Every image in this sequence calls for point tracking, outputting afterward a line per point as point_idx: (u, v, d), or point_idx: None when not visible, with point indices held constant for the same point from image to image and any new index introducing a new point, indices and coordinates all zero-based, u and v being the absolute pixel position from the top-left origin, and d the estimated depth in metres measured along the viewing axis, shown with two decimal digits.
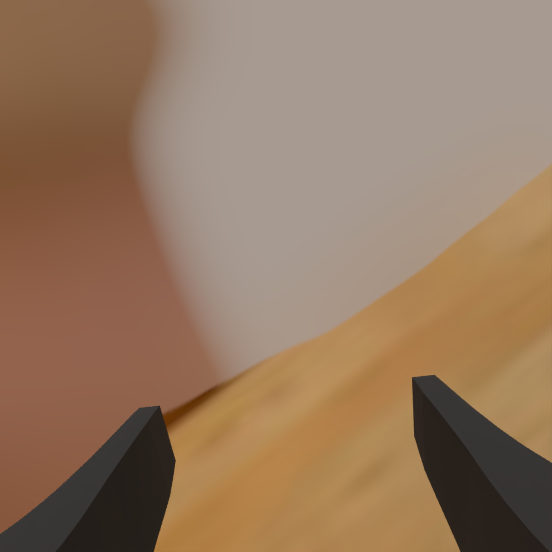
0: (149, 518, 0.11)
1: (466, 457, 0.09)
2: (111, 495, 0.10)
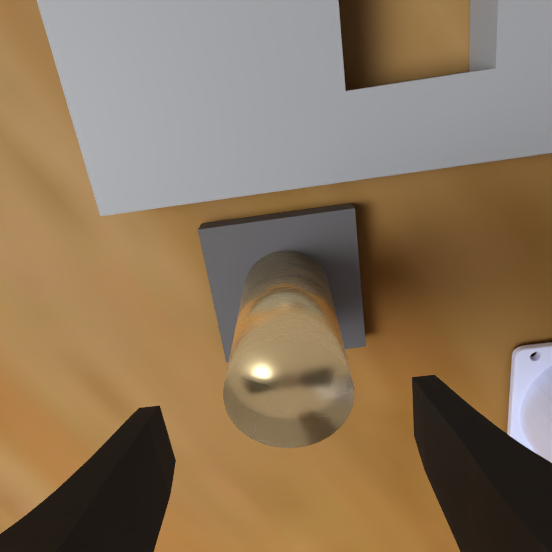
0: (149, 517, 0.11)
1: (466, 457, 0.09)
2: (110, 494, 0.10)
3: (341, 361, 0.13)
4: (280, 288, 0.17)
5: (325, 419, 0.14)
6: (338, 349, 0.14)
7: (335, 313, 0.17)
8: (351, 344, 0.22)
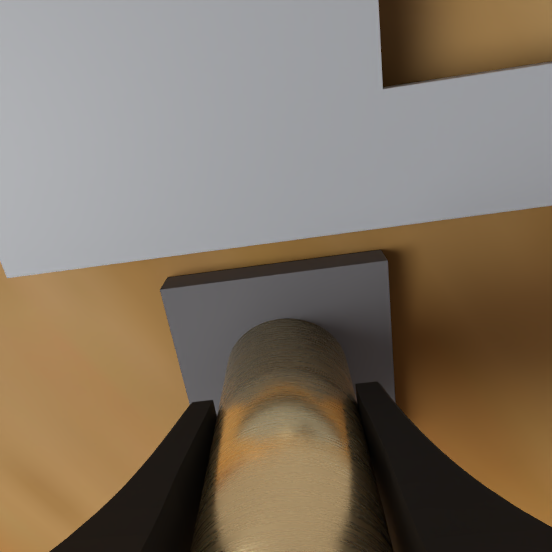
0: None
1: (388, 465, 0.09)
2: (180, 487, 0.10)
3: None
4: (279, 404, 0.10)
5: None
6: None
7: (364, 433, 0.11)
8: None
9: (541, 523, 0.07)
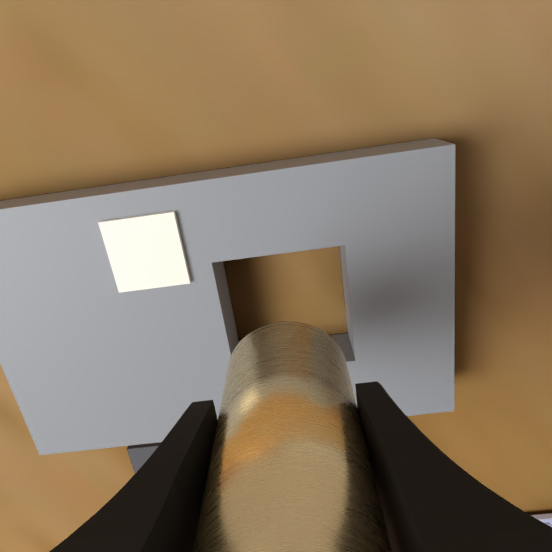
0: None
1: (388, 465, 0.09)
2: (180, 487, 0.09)
3: None
4: (286, 408, 0.10)
5: None
6: None
7: (365, 442, 0.11)
8: None
9: (541, 523, 0.07)
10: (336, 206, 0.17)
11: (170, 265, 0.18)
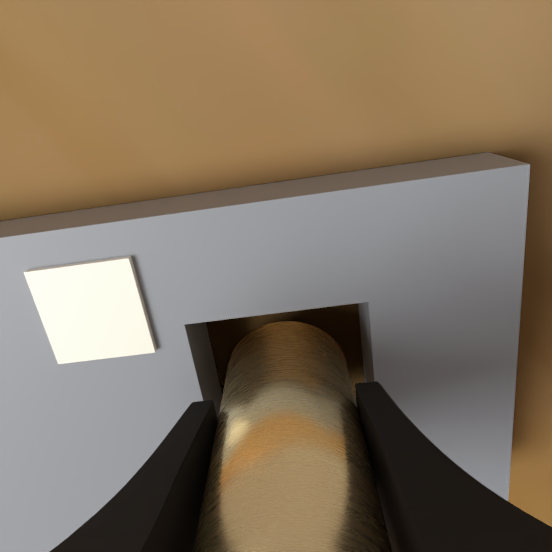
0: None
1: (388, 465, 0.09)
2: (180, 487, 0.09)
3: None
4: (286, 408, 0.10)
5: None
6: None
7: (365, 441, 0.11)
8: None
9: (541, 523, 0.07)
10: (357, 250, 0.12)
11: (126, 329, 0.13)
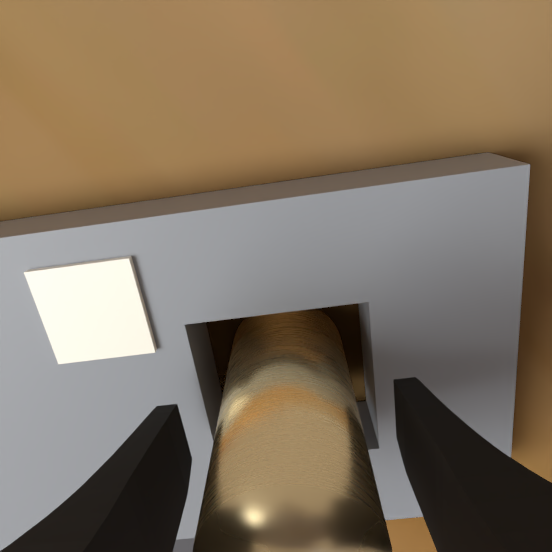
0: (169, 515, 0.11)
1: (440, 459, 0.09)
2: (133, 492, 0.10)
3: (378, 519, 0.09)
4: (285, 370, 0.12)
5: None
6: (371, 491, 0.09)
7: (356, 402, 0.13)
8: None
9: None
10: (357, 250, 0.12)
11: (127, 329, 0.13)
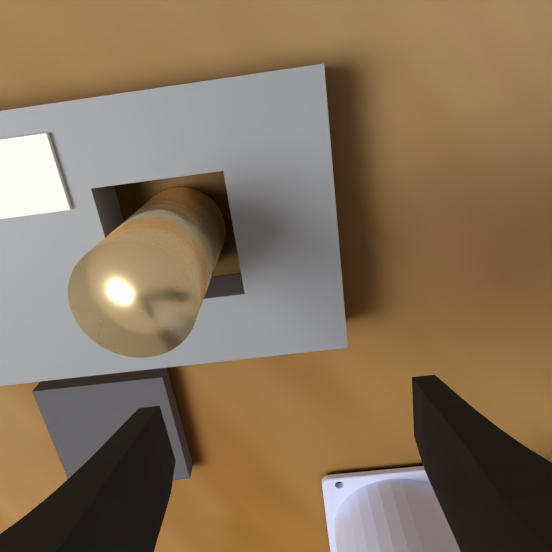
0: (150, 518, 0.11)
1: (466, 457, 0.09)
2: (110, 494, 0.10)
3: (183, 268, 0.14)
4: (154, 209, 0.17)
5: (170, 329, 0.14)
6: (186, 260, 0.14)
7: (212, 242, 0.18)
8: (177, 477, 0.26)
9: None
10: (210, 129, 0.17)
11: (48, 190, 0.18)
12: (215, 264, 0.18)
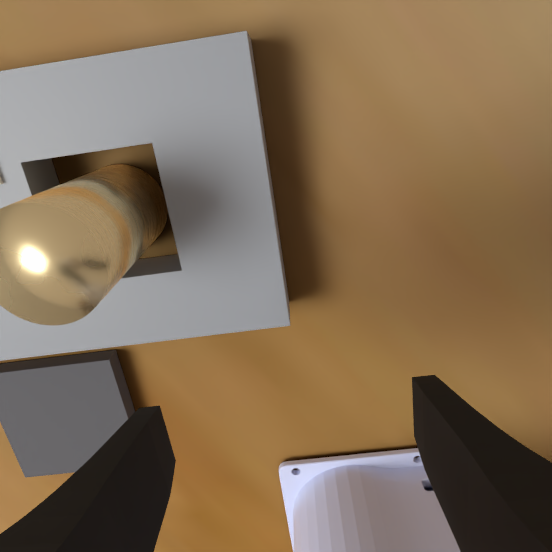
0: (149, 518, 0.11)
1: (466, 457, 0.09)
2: (110, 494, 0.10)
3: (88, 231, 0.13)
4: (77, 180, 0.17)
5: (81, 295, 0.14)
6: (96, 224, 0.14)
7: (141, 215, 0.18)
8: None
9: None
10: (137, 100, 0.17)
11: None
12: (146, 238, 0.18)
